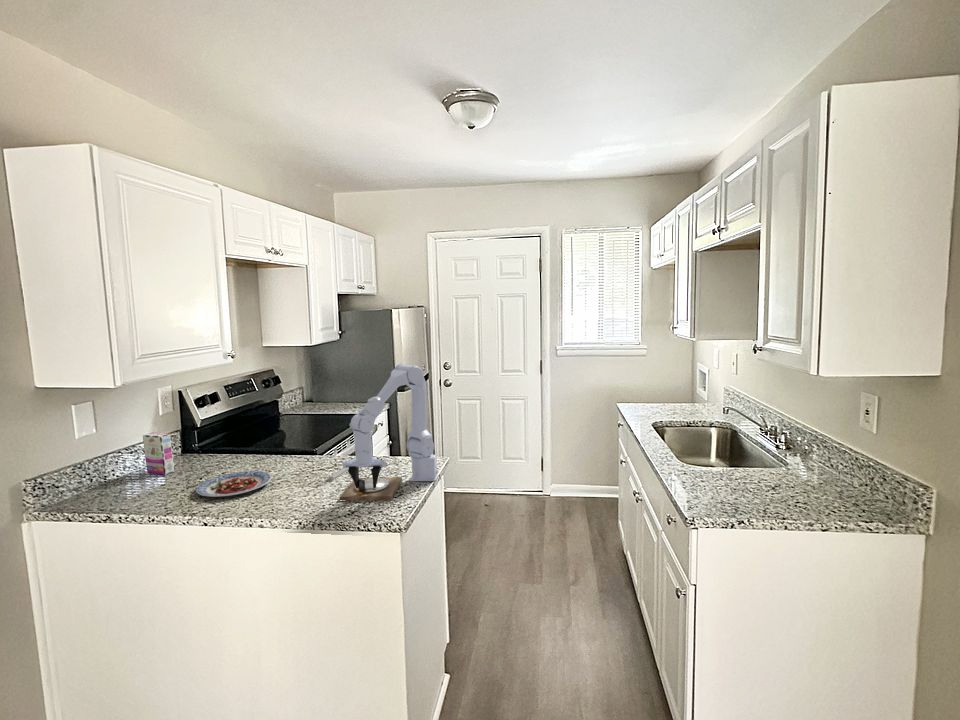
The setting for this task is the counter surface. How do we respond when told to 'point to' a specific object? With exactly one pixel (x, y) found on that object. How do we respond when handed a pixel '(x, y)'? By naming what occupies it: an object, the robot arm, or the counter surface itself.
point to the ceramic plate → (233, 483)
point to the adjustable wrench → (338, 473)
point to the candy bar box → (159, 453)
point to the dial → (371, 485)
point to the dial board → (381, 495)
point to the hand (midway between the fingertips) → (366, 487)
